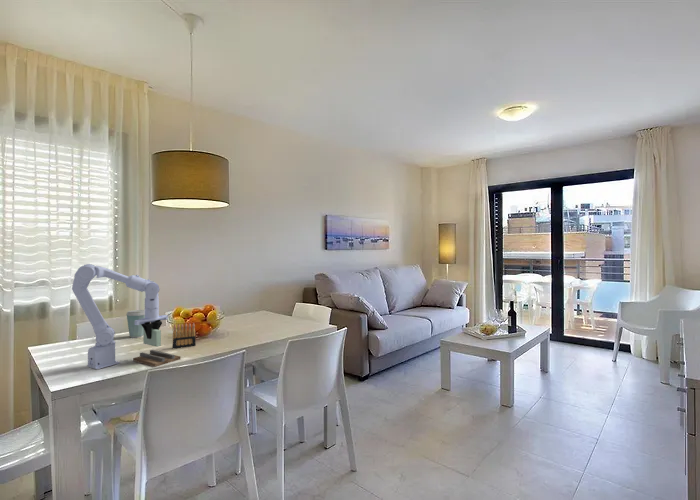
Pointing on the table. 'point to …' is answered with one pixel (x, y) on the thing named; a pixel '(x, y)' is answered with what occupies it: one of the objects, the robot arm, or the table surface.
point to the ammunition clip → (184, 336)
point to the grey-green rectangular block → (152, 338)
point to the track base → (156, 358)
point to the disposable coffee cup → (134, 329)
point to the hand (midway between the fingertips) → (151, 337)
